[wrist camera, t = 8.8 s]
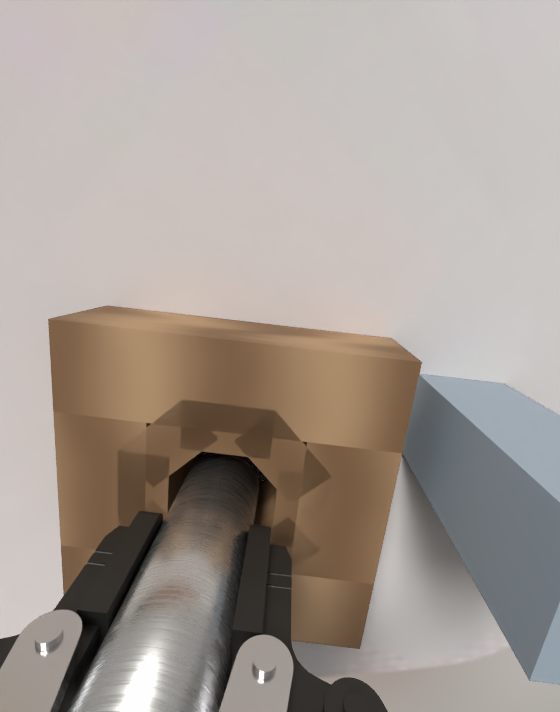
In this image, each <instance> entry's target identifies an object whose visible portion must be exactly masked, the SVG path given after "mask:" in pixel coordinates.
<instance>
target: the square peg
mask: <svg viewBox="0 0 560 712" xmlns="http://www.w3.org/2000/svg"><path fill="white" fill-rule="evenodd" d="M402 453H403V455H404V457H405V459H406V460H407V462H408V464H409V466H410V468H411V469H412V471H413V473H414V475H415V477H416V478H417V480H418V482H419V484H420V486H421V487H422V489H423V491H424V493H425V495H426V496H427V498H428V500H429V502H430V503H431V505H432V507H433V509H434V511H435V512H436V514H437V516H438V518H439V520H440V521H441V523H442V525H443V527H444V529H445V530H446V532H447V534H448V536H449V537H450V539H451V541H452V543H453V545H454V546H455V548H456V550H457V552H458V554H459V555H460V557H461V559H462V561H463V563H464V564H465V566H466V568H467V570H468V572H469V573H470V575H471V577H472V579H473V580H474V582H475V584H476V586H477V588H478V589H479V591H480V593H481V595H482V597H483V598H484V600H485V602H486V604H487V606H488V607H489V609H490V611H491V613H492V615H493V616H494V618H495V620H496V622H497V623H498V625H499V627H500V629H501V631H502V632H503V634H504V636H505V638H506V640H507V641H508V643H509V645H510V647H511V649H512V650H513V652H514V654H515V656H516V657H517V659H518V661H519V663H520V664H521V666H522V668H523V670H524V672H525V674H526V675H527V677H528V679H529V681H535V682H543V683H551V684H559V685H560V415H558V414H557V413H555V412H553V411H551V410H550V409H548V408H546V407H545V406H543V405H541V404H539V403H538V402H536V401H534V400H532V399H531V398H529V397H527V396H526V395H524V394H522V393H520V392H519V391H517V390H515V389H513V388H512V387H510V386H508V385H507V384H503V383H494V382H486V381H477V380H468V379H460V378H451V377H442V376H434V375H425V374H419V378H418V382H417V387H416V391H415V396H414V401H413V405H412V410H411V415H410V419H409V424H408V428H407V433H406V438H405V442H404V447H403V451H402Z"/></svg>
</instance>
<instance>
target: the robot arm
mask: <svg viewBox="0 0 560 712" xmlns="http://www.w3.org/2000/svg"><path fill="white" fill-rule="evenodd" d="M162 524H163V514H162V513H155V512H147V511H139V512H138V513H137V515H136V516H135V518H134V519H133V521H132V523H131V524H130V526H129V527H128V526H120V525H119V526H118V527H117V528H115V529H114V530H113V531H111V532H110V533H109V534H107V535H106V536H105V537H104V538H103V540H102V541H101V543H100V544H99V546H98V547H97V549H96V550H95V553H93V554H92V556H91V557H90V559H89V560H88V562H87V565H86V564H85V566H84V567H83V569H82V570H81V572H80V573H79V575H78V576H77V577H76V579H75V580H74V582H73V583H72V585H71V586H70V588H69V589H68V590H67V592H66V593H65V595H64V596H63V598H62V599H61V601H60V602H59V603H58V605H57V606H56V608H55V609H54V610H53V611H51V612H49V613H46V614H44V615H42V616H40V617H38V618H37V619H35V620H34V621H32V622H31V623H30V624H29V625H28V626H27V627H26V628H25V629H24V630H23V631H22V632H21V633H20V634H19V635H16V636H12V637H8V638H2V639H0V712H67V711H68V709H69V707H70V705H71V703H72V701H73V699H74V697H75V695H76V693H77V691H78V690H79V688H80V686H81V684H82V682H83V680H84V678H85V676H86V674H87V672H88V670H89V668H90V666H91V664H92V662H93V660H94V658H95V656H96V654H97V652H98V650H99V648H100V646H101V644H102V642H103V640H104V638H105V636H106V634H107V632H108V630H109V628H110V626H111V624H112V622H113V620H114V618H115V616H116V614H117V612H118V610H119V608H120V607H121V605H122V603H123V601H124V599H125V597H126V595H127V593H128V591H129V589H130V587H131V585H132V583H133V581H134V579H135V577H136V575H137V573H138V571H139V569H140V567H141V565H142V563H143V561H144V559H145V557H146V555H147V553H148V551H149V549H150V547H151V545H152V543H153V541H154V539H155V537H156V535H157V533H158V531H159V529H160V527H161V525H162ZM270 538H271V527H268V526H259V525H251V524H250V528H249V534H248V540H247V546H246V552H245V557H244V563H243V569H242V575H241V581H240V587H239V593H238V599H237V604H236V610H235V616H234V622H233V628H232V637H231V647H230V651H231V657H232V664H231V671H230V677H229V681H228V684H227V688H226V691H225V694H224V697H223V700H222V703H221V706H220V710H219V712H387V710H386V708H385V706H384V704H383V702H382V701H381V699H380V697H379V696H378V695H377V693H376V692H375V691H374V690H373V689H372V688H371V687H370V686H369V685H367V684H366V683H364V682H363V681H361V680H358V679H355V678H350V677H348V678H341V679H339V680H337V681H335V682H334V683H333V684H332V685H330V684H328V683H327V682H325V681H323V680H321V679H319V678H317V677H315V676H313V675H312V674H310V673H309V672H308V671H306V670H305V669H304V668H303V667H302V665H301V664H300V663H299V661H298V660H297V658H296V656H295V654H294V652H293V649H292V644H291V587H292V578H291V576H292V559H291V557H290V555H289V553H288V550H287V548H286V546H280V545H272V544H270Z"/></svg>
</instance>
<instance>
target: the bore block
mask: <svg viewBox="0 0 560 712" xmlns="http://www.w3.org/2000/svg"><path fill="white" fill-rule="evenodd" d="M48 321H49V339H50V357H51V375H52V393H53V411H54V429H55V447H56V465H57V482H58V500H59V518H60V536H61V554H62V572H63V590H64V595H65V593H66V592H67V590H68V589H69V588H70V586H71V585H72V583H73V582H74V580H75V579H76V577H77V576H78V575H79V573H80V572H81V570H82V569H83V567H84V566H85V564H86V565H87V562H88V560H89V559H90V557H91V556H92V554H93V553H95V550H96V549H97V547H98V546H99V544H100V543H101V541H102V540H103V538H104V537H105V536H106V535H107V534H109V533H110V532H111V531H113V530H114V529H115V528H117V527H118V526H119V525H120V526H128V527H129V526H130V524H131V523H132V521H133V519H134V518H135V516H136V515H137V513H138V512H139V511H147V512H155V513H162V514H163V522H164V520H165V518H166V516H167V514H168V512H169V510H170V508H171V506H172V504H173V502H174V500H175V498H176V496H177V494H178V492H179V490H180V488H181V486H182V484H183V482H184V480H185V478H186V476H187V474H188V472H189V470H190V468H191V467H192V465H193V464H194V463H195V456H196V455H198V454H199V453H201V452H202V451H203V452H211V453H219V454H228V455H236V456H244V457H248V458H249V459H250V460H251V461H252V462H253V463H254V464H255V465H256V467H257V468H258V469H259V470H260V471H261V472H262V473H263V474H264V476H265V477H266V478H267V479H265V480H264V481H262V482H261V483H259V493H258V499H257V505H256V512H255V518H254V524H253V525H259V526H268V527H271V538H270V544H272V545H280V546H286V548H287V550H288V553H289V555H290V557H291V559H292V576H291V578H292V587H291V640H293V641H301V642H309V643H317V644H325V645H332V646H340V647H348V648H356V649H360V646H361V641H362V636H363V632H364V627H365V622H366V618H367V613H368V609H369V604H370V599H371V595H372V590H373V585H374V581H375V576H376V572H377V567H378V562H379V558H380V553H381V549H382V544H383V539H384V535H385V530H386V525H387V521H388V516H389V512H390V507H391V502H392V498H393V493H394V488H395V484H396V479H397V475H398V470H399V465H400V461H401V456H402V451H403V447H404V442H405V438H406V433H407V428H408V424H409V419H410V415H411V410H412V405H413V401H414V396H415V391H416V387H417V382H418V378H419V373H420V368H421V364H422V362H421V361H420V360H419V359H417V358H416V357H415V356H413V355H412V354H411V353H410V352H408V351H407V350H406V349H405V348H403V347H402V346H401V345H400V344H398V343H397V342H396V341H395V340H393V339H392V338H384V337H375V336H367V335H358V334H349V333H341V332H332V331H323V330H314V329H306V328H297V327H288V326H279V325H271V324H262V323H253V322H245V321H236V320H227V319H218V318H210V317H201V316H192V315H183V314H175V313H166V312H157V311H148V310H140V309H131V308H122V307H114V306H103V307H99V308H95V309H90V310H86V311H81V312H77V313H73V314H68V315H64V316H59V317H55V318H51V319H48Z"/></svg>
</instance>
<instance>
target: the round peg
mask: <svg viewBox="0 0 560 712" xmlns="http://www.w3.org/2000/svg"><path fill="white" fill-rule="evenodd" d="M258 493H259V479H258V475H257V473H256V471H255V469H254V468H253V467H252V465H251V464H250V463H249V462H248V461H247V460H245V459H244V458H242V457H241V456H236V455H228V454H219V453H208V454H206V455H204V456H202V457H200V458H199V459H198V460H196V461H195V463H194V464H193V465H192V467H191V468H190V470H189V472H188V474H187V476H186V478H185V480H184V482H183V484H182V486H181V488H180V490H179V492H178V494H177V496H176V498H175V500H174V502H173V504H172V506H171V508H170V510H169V512H168V514H167V516H166V518H165V520H164V522H163V524H162V525H161V527H160V529H159V531H158V533H157V535H156V537H155V539H154V541H153V543H152V545H151V547H150V549H149V551H148V553H147V555H146V557H145V559H144V561H143V563H142V565H141V567H140V569H139V571H138V573H137V575H136V577H135V579H134V581H133V583H132V585H131V587H130V589H129V591H128V593H127V595H126V597H125V599H124V601H123V603H122V605H121V607H120V608H119V610H118V612H117V614H116V616H115V618H114V620H113V622H112V624H111V626H110V628H109V630H108V632H107V634H106V636H105V638H104V640H103V642H102V644H101V646H100V648H99V650H98V652H97V654H96V656H95V658H94V660H93V662H92V664H91V666H90V668H89V670H88V672H87V674H86V676H85V678H84V680H83V682H82V684H81V686H80V688H79V690H78V691H77V693H76V695H75V697H74V699H73V701H72V703H71V705H70V707H69V709H68V711H67V712H219V710H220V706H221V703H222V700H223V697H224V694H225V691H226V688H227V684H228V681H229V677H230V671H231V664H232V657H231V651H230V647H231V637H232V628H233V622H234V616H235V610H236V604H237V599H238V593H239V587H240V581H241V575H242V569H243V563H244V557H245V552H246V546H247V540H248V534H249V528H250V524H251V525H253V524H254V518H255V512H256V505H257V499H258Z"/></svg>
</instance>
